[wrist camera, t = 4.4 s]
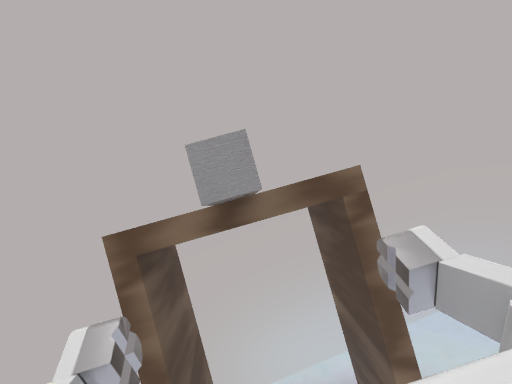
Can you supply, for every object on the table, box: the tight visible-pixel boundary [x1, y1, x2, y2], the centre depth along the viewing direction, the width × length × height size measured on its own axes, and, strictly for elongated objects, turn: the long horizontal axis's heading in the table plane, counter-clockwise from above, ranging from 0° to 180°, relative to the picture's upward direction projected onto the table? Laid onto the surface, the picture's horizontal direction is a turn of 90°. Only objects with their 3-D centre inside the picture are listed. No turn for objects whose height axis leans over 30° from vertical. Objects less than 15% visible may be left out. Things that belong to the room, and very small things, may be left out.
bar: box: [185, 129, 262, 206], centre depth 26 cm, size 4×20×4 cm, turn 1°
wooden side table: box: [102, 165, 422, 384], centre depth 32 cm, size 20×14×26 cm
